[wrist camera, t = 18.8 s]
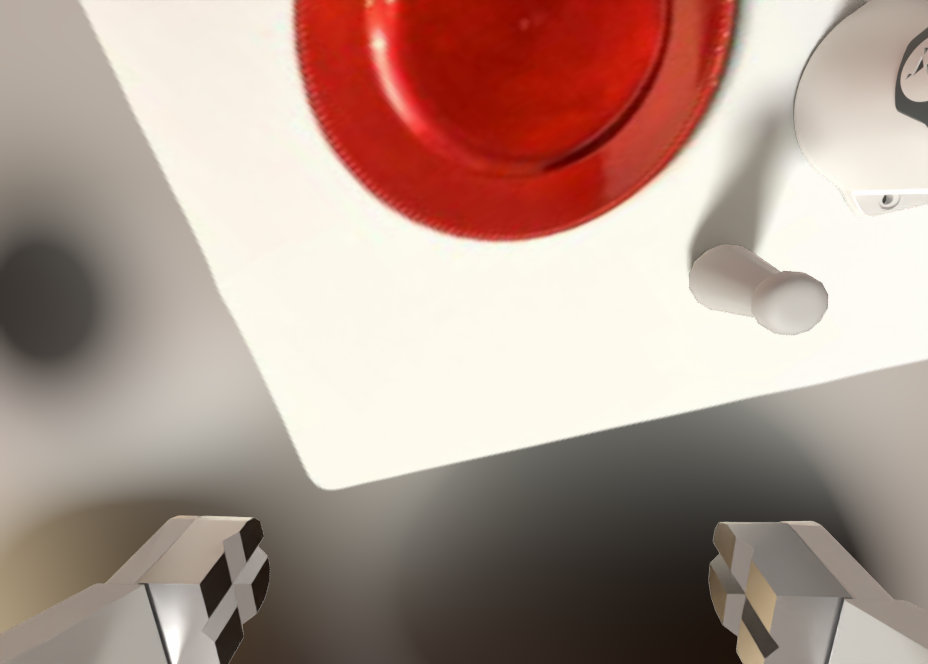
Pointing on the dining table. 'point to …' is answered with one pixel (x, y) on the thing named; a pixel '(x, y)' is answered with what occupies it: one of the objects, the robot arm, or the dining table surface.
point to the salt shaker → (757, 290)
